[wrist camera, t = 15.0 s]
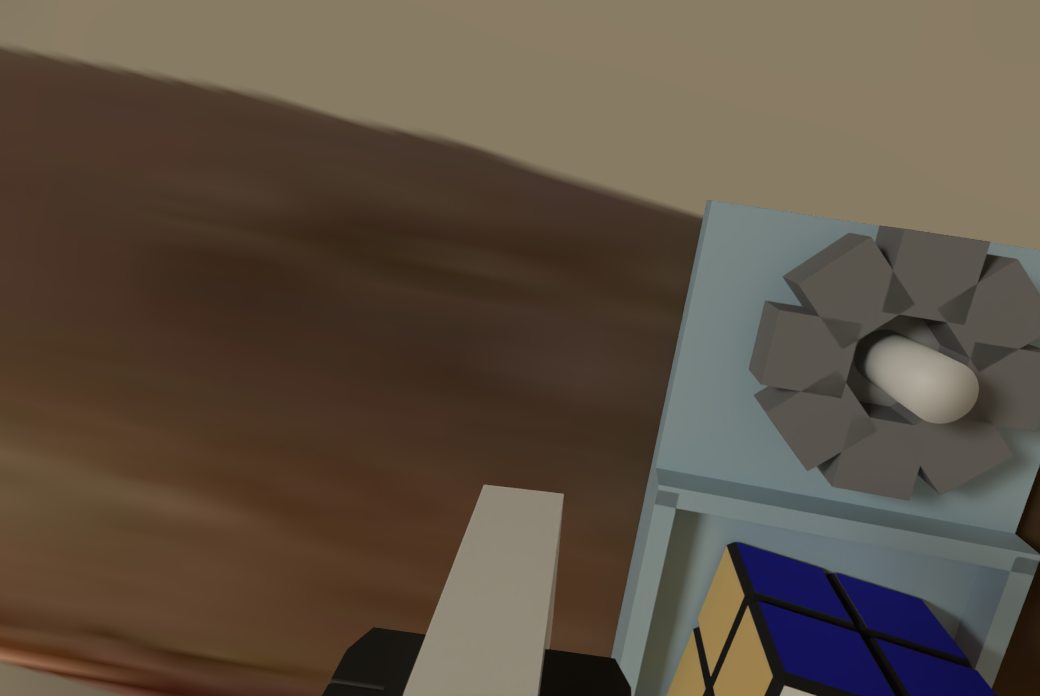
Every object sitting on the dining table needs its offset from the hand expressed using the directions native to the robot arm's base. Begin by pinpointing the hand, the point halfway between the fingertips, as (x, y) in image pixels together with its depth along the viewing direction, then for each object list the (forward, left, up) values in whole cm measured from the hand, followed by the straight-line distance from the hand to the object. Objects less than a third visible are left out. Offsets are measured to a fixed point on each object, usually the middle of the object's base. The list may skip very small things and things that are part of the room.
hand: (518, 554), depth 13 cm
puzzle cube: (+14, +14, -20) cm, 28 cm away
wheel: (-2, +14, -19) cm, 24 cm away
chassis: (+8, +14, -22) cm, 27 cm away
